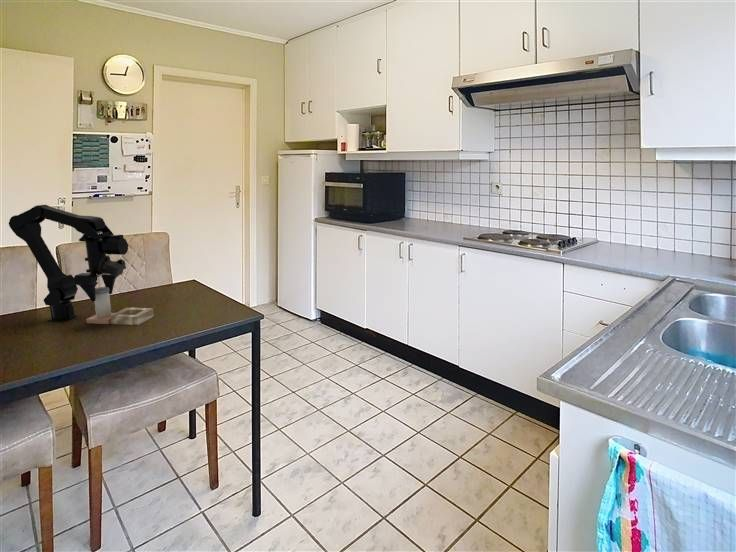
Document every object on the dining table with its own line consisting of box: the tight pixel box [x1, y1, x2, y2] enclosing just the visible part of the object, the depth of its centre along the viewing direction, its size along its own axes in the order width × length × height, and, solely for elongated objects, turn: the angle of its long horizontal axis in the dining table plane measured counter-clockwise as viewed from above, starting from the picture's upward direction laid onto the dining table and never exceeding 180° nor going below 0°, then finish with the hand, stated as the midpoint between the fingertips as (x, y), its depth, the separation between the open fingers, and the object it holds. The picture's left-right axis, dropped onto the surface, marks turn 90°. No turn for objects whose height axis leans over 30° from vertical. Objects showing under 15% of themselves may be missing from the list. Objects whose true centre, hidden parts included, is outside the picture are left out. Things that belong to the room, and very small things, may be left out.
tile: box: [85, 312, 116, 325], centre depth 172 cm, size 8×8×2 cm
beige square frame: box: [110, 307, 154, 326], centre depth 172 cm, size 10×10×3 cm
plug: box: [93, 286, 112, 318], centre depth 171 cm, size 5×5×10 cm
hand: (102, 297), depth 171 cm, fingers open, 9 cm apart
